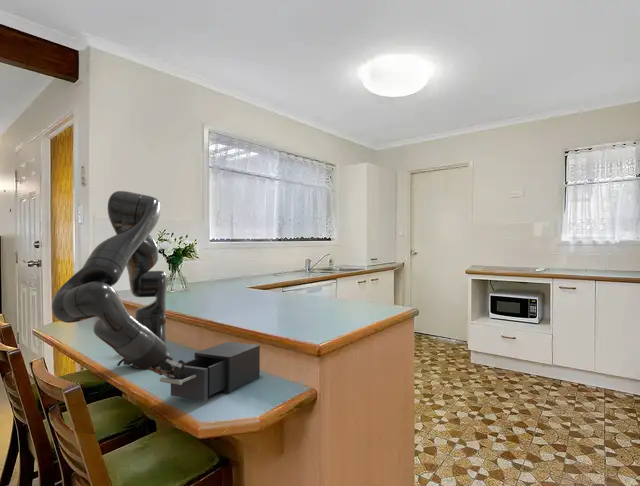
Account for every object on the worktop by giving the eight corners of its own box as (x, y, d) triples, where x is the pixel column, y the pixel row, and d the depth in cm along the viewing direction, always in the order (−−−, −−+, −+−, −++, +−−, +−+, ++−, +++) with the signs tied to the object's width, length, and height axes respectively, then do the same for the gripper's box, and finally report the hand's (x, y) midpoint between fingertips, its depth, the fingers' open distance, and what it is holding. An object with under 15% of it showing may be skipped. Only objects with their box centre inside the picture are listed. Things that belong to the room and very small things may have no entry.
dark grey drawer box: (229, 393, 104) (229, 357, 104) (194, 387, 108) (194, 352, 108) (259, 377, 117) (259, 345, 117) (227, 372, 121) (227, 341, 121)
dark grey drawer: (186, 410, 90) (187, 376, 90) (152, 403, 94) (152, 371, 94) (237, 384, 107) (237, 356, 107) (205, 380, 111) (206, 352, 111)
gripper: (170, 333, 84) (210, 369, 96) (129, 329, 89) (171, 364, 100) (149, 362, 79) (194, 397, 91) (106, 356, 84) (154, 390, 95)
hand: (182, 380), depth 96 cm, fingers closed
